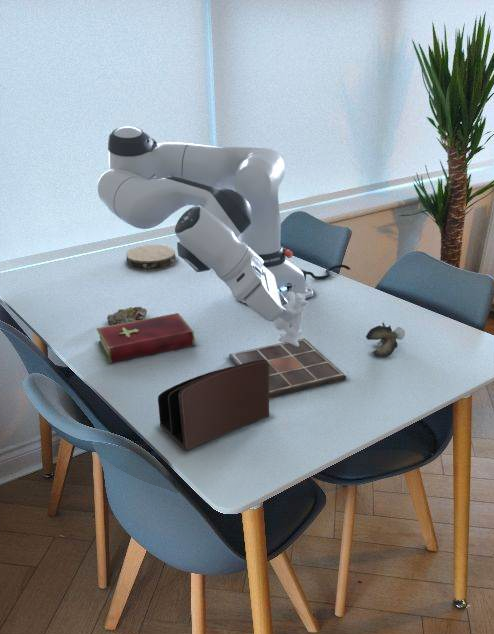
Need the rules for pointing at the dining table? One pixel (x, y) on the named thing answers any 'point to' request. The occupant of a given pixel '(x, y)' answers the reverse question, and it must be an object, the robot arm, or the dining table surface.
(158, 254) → the tambourine
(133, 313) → the mineral rock
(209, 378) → the letter holder
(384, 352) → the eagle figurine
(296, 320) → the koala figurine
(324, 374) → the board
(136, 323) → the hardcover book
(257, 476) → the dining table surface
